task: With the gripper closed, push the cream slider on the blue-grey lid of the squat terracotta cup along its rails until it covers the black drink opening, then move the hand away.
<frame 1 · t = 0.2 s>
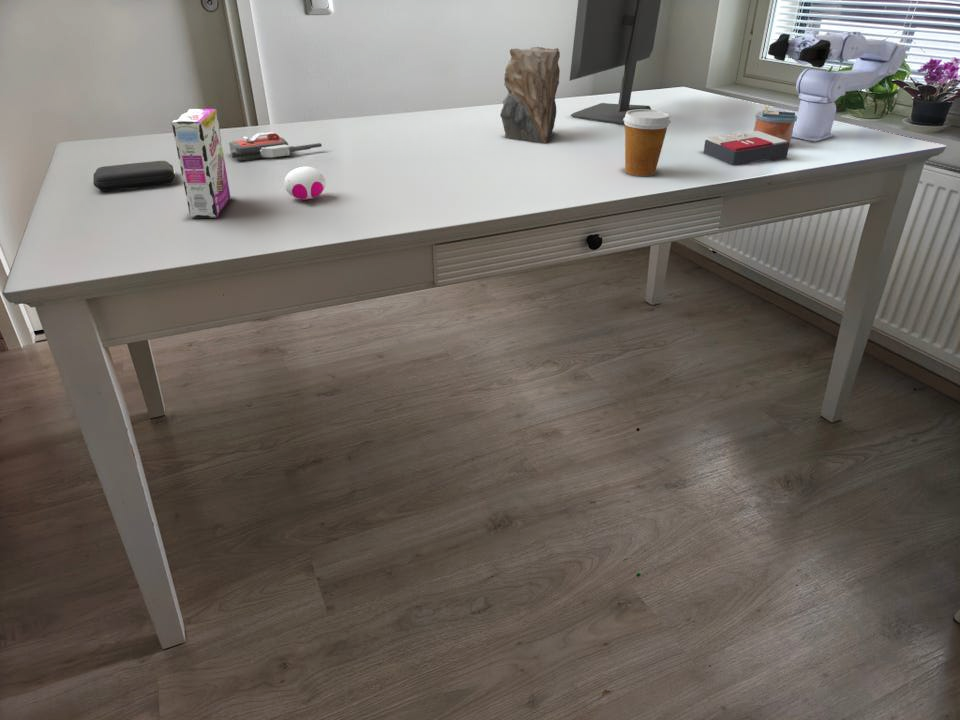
hand: (785, 52, 155), 21 cm above the table, tool horizontal, fingers open, 7 cm apart
lid slider: (772, 110, 167), point 8 cm above the table, slide at 3.6 cm
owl: (531, 137, 174), on the table
disposable coffee cup: (640, 173, 149), on the table
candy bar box: (212, 209, 127), on the table
dark grey flat box: (744, 156, 161), on the table
tumbler: (770, 143, 170), on the table
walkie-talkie: (275, 154, 159), on the table
carrying case: (136, 183, 140), on the table
computer monitor: (611, 116, 195), on the table
stress ball: (307, 200, 132), on the table
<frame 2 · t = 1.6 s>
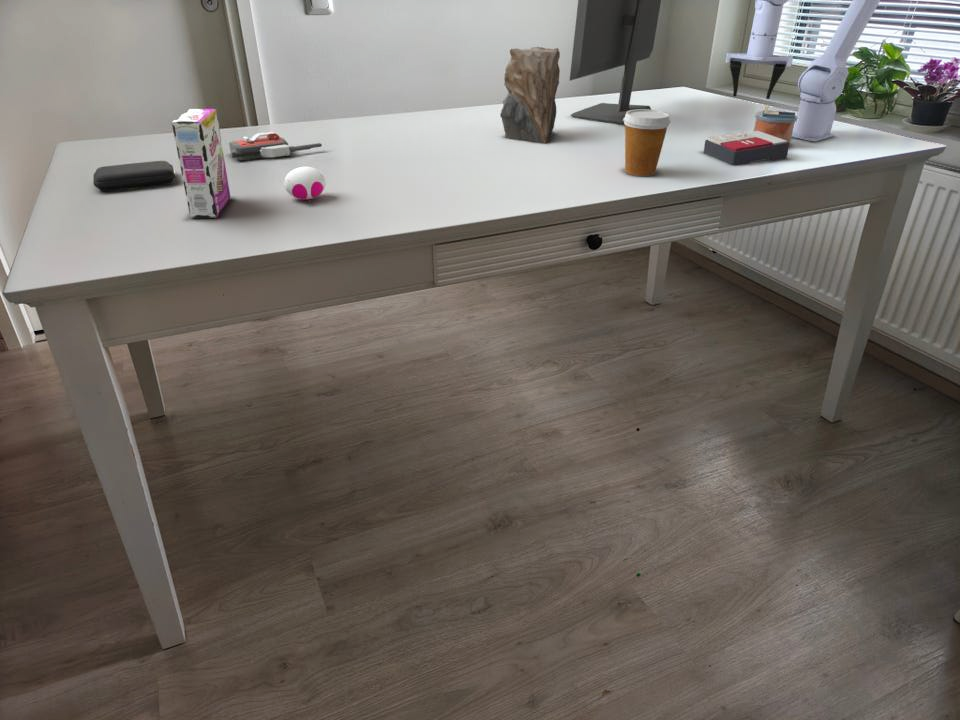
hand: (751, 96, 167), 10 cm above the table, tool pointing down, fingers open, 7 cm apart
nothing on the table moved.
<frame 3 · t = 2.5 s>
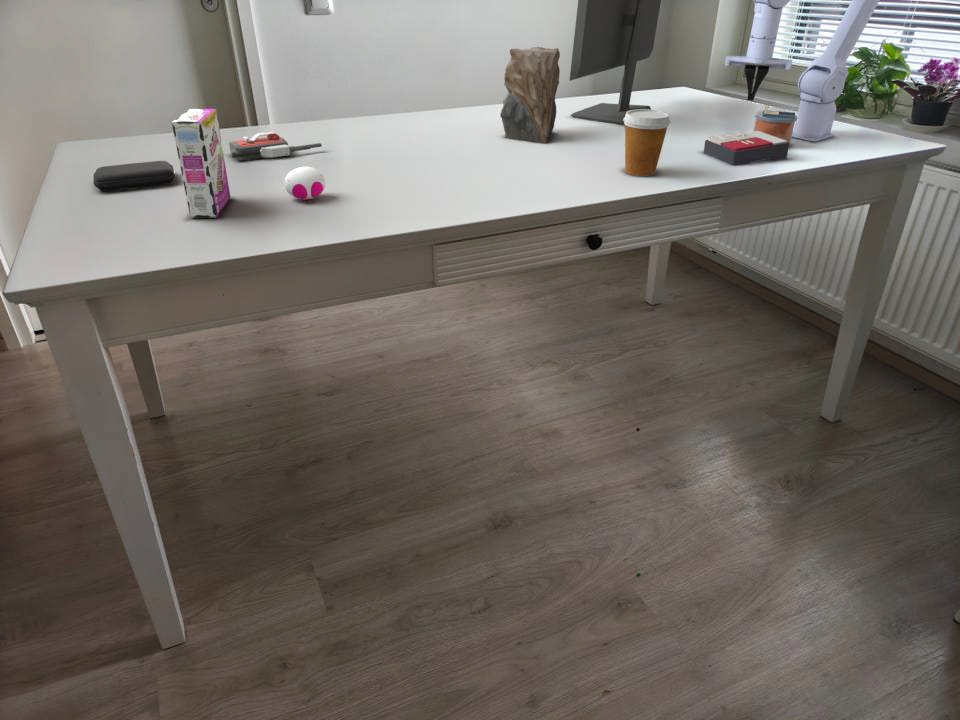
hand: (750, 99, 167), 10 cm above the table, tool pointing down, fingers closed
nothing on the table moved.
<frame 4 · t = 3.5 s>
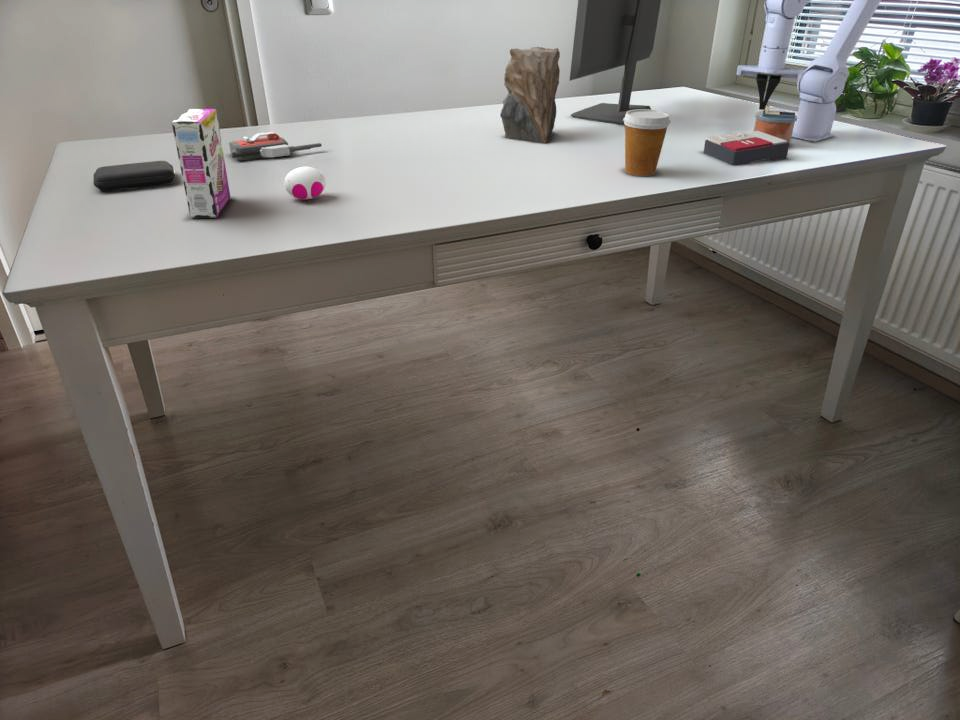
hand: (762, 109, 167), 8 cm above the table, tool pointing down, fingers closed
lid slider: (773, 110, 167), point 8 cm above the table, slide at 3.4 cm, touching gripper
everything else where it was.
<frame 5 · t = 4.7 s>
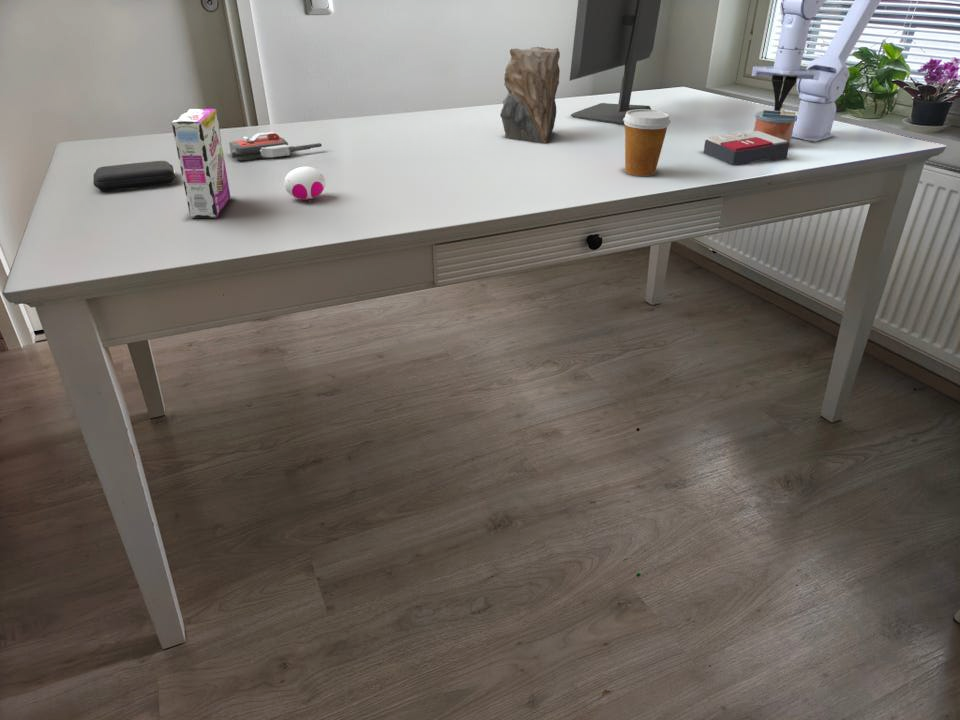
hand: (777, 110, 166), 8 cm above the table, tool pointing down, fingers closed
lid slider: (788, 111, 166), point 8 cm above the table, slide at 0.0 cm, touching gripper
everything else where it was.
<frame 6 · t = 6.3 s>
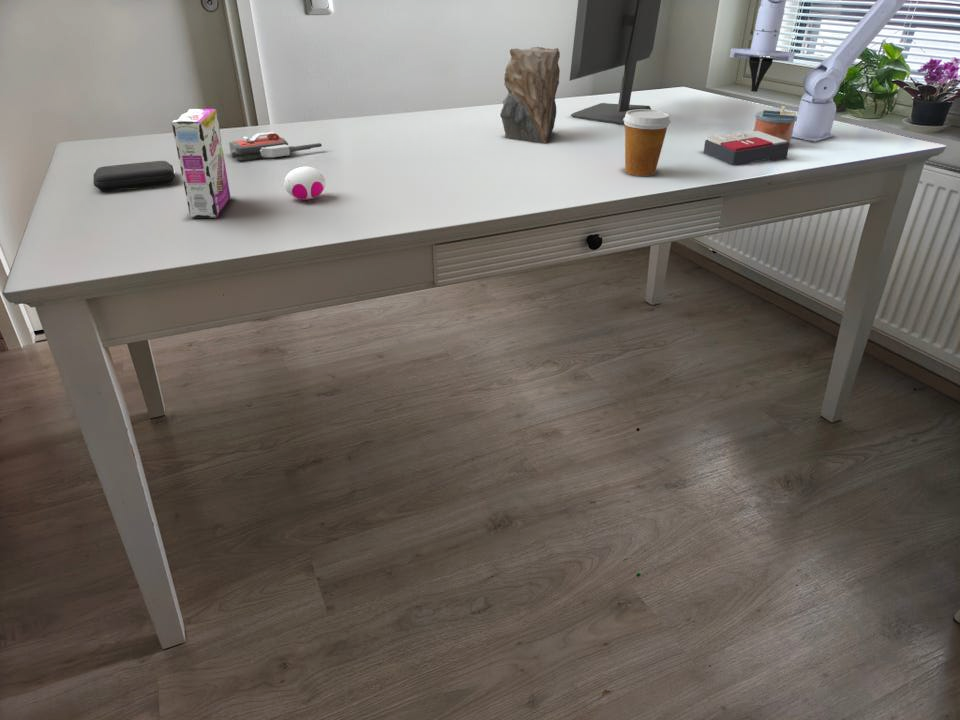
hand: (754, 90, 173), 10 cm above the table, tool pointing down, fingers closed
lid slider: (788, 111, 166), point 8 cm above the table, slide at 0.0 cm
everything else where it was.
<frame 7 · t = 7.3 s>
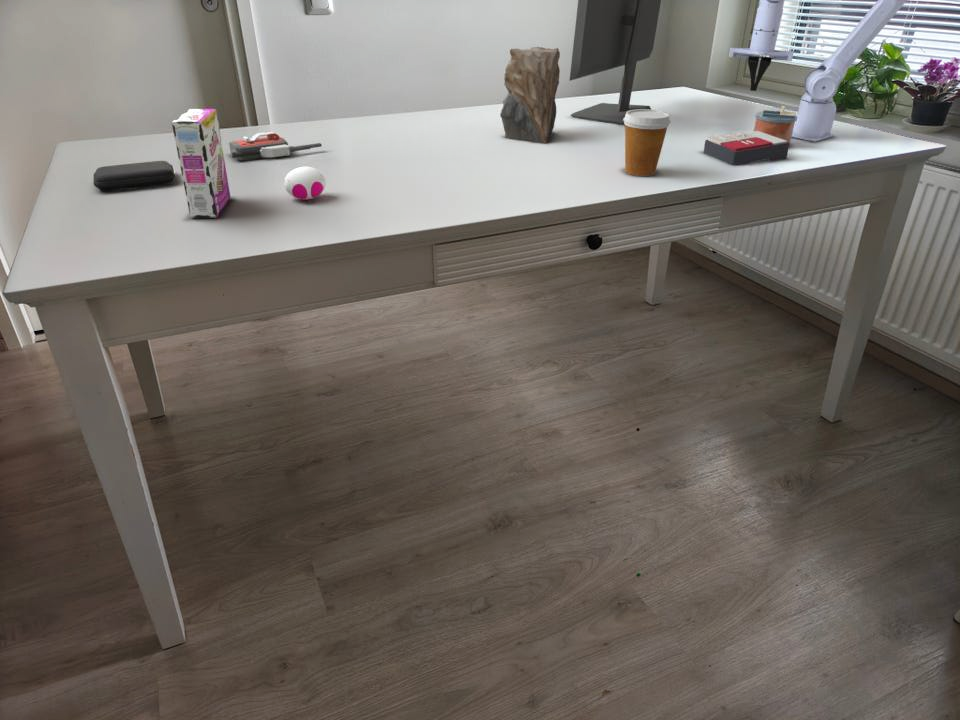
hand: (753, 90, 174), 10 cm above the table, tool pointing down, fingers closed
nothing on the table moved.
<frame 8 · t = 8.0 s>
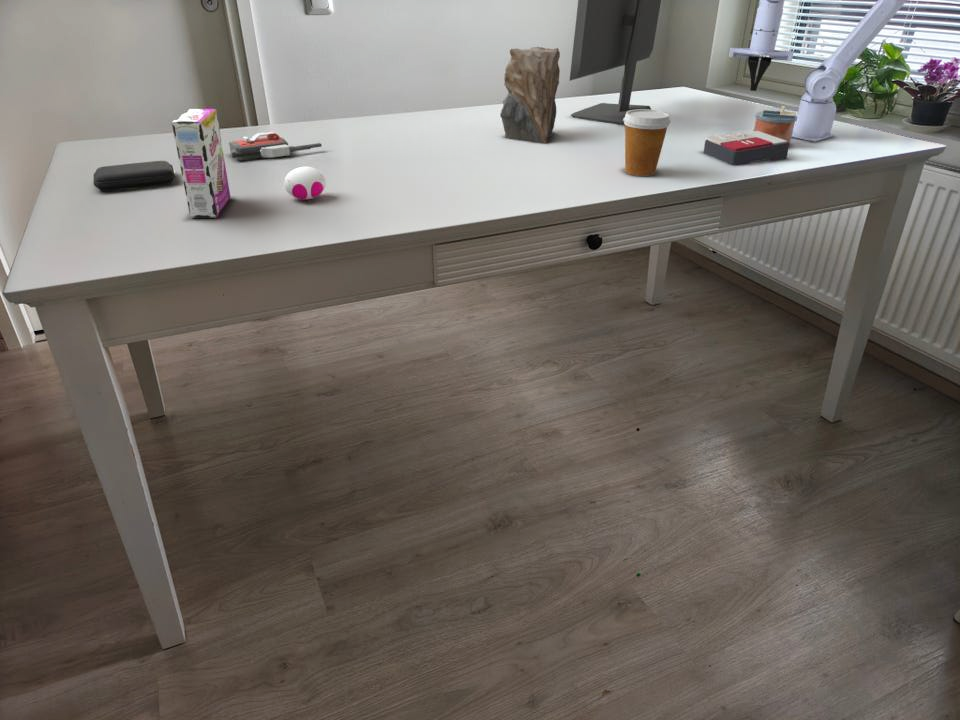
hand: (753, 90, 174), 10 cm above the table, tool pointing down, fingers closed
nothing on the table moved.
at the end: lid slider slide at 0.0 cm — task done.
